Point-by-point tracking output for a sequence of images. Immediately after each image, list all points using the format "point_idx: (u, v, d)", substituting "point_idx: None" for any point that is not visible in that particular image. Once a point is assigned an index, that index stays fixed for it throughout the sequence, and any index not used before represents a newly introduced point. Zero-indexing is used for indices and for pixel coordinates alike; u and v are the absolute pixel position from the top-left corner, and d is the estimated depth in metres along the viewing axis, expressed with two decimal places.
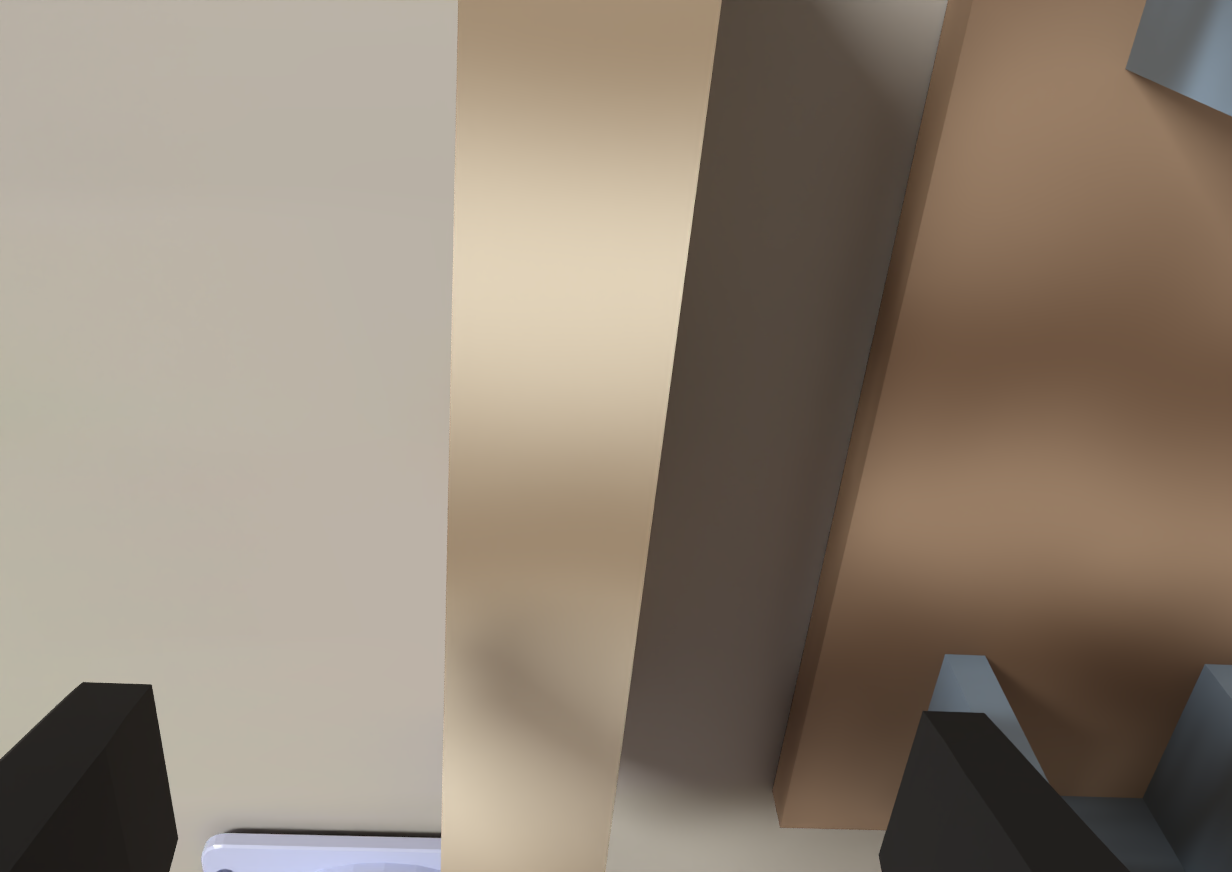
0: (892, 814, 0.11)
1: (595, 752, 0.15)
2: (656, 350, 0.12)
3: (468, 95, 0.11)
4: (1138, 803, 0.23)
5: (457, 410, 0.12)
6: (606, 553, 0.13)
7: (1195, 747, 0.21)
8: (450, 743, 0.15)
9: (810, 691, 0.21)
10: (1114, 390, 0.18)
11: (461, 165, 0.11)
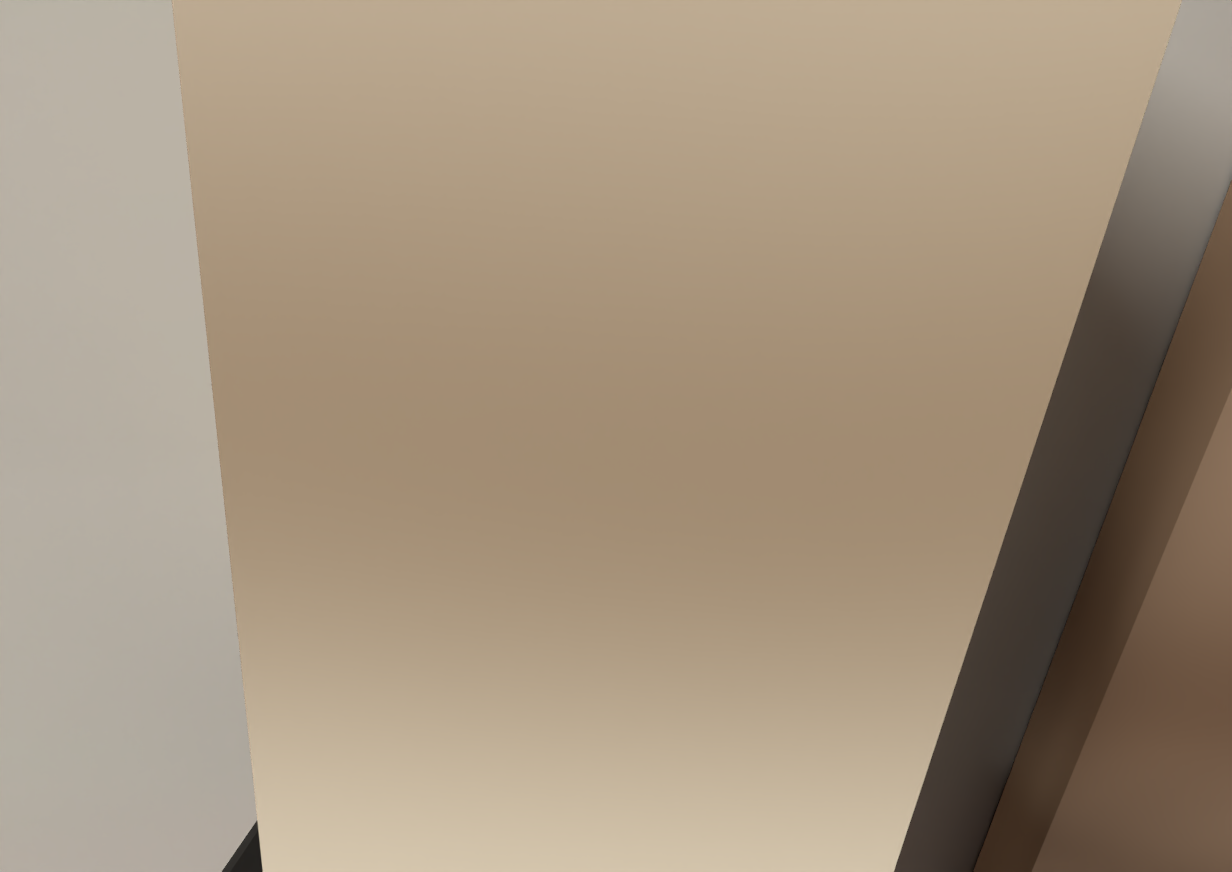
0: None
1: None
2: None
3: (274, 636, 0.04)
4: None
5: None
6: None
7: None
8: None
9: None
10: None
11: (273, 780, 0.04)
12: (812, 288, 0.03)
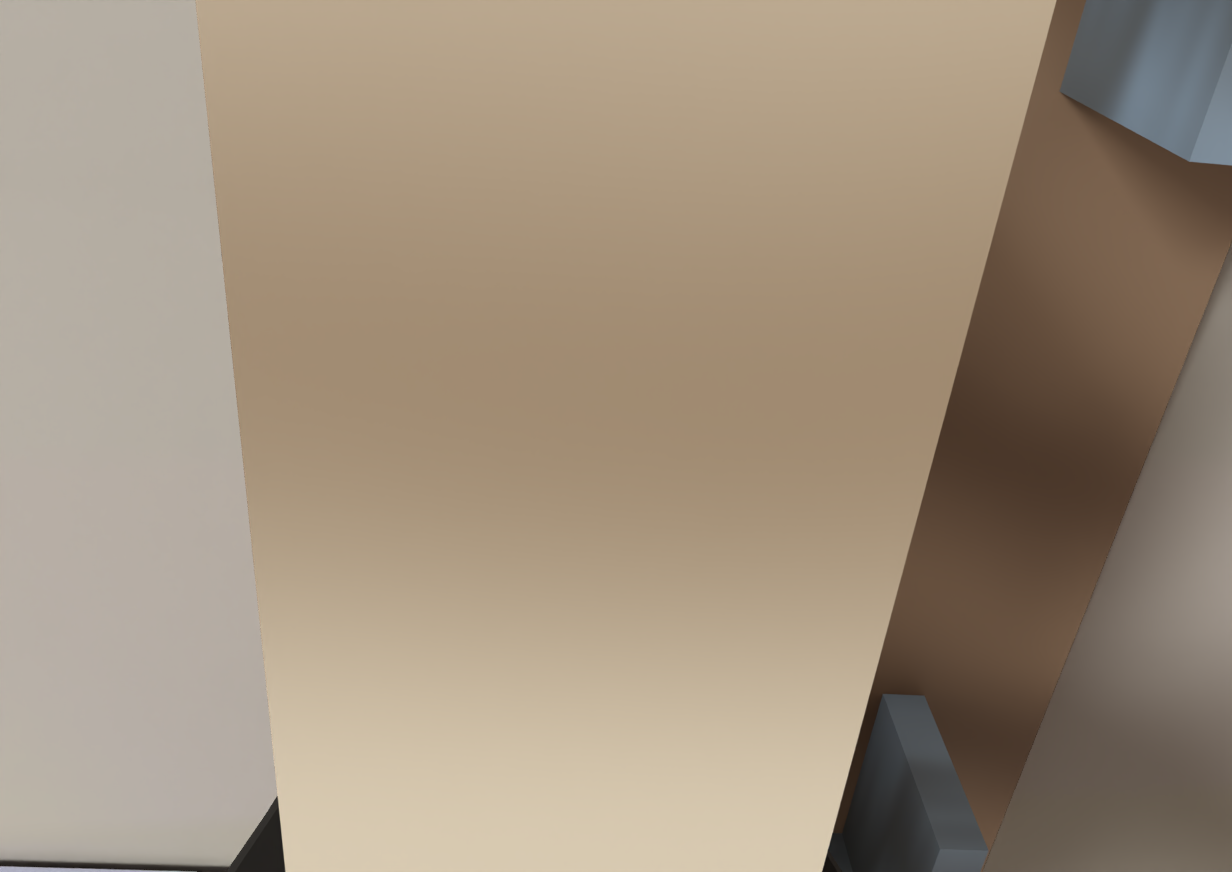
0: None
1: None
2: None
3: (285, 553, 0.04)
4: (834, 839, 0.22)
5: None
6: None
7: (874, 782, 0.20)
8: None
9: None
10: None
11: (285, 689, 0.04)
12: (751, 232, 0.03)
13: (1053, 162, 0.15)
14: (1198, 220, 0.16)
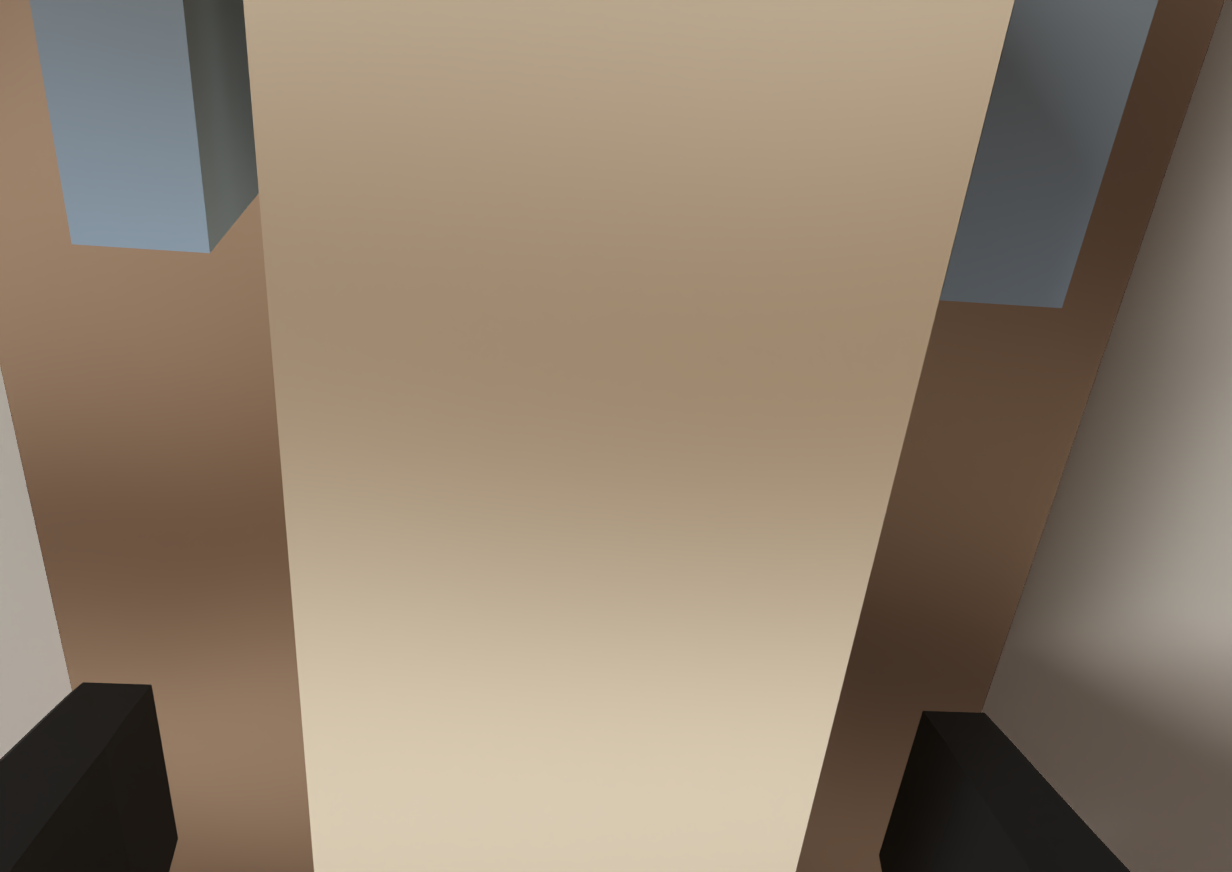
0: (892, 814, 0.11)
1: None
2: None
3: (314, 503, 0.04)
4: None
5: None
6: None
7: None
8: None
9: None
10: None
11: (311, 633, 0.05)
12: (741, 204, 0.04)
13: None
14: (1050, 329, 0.11)
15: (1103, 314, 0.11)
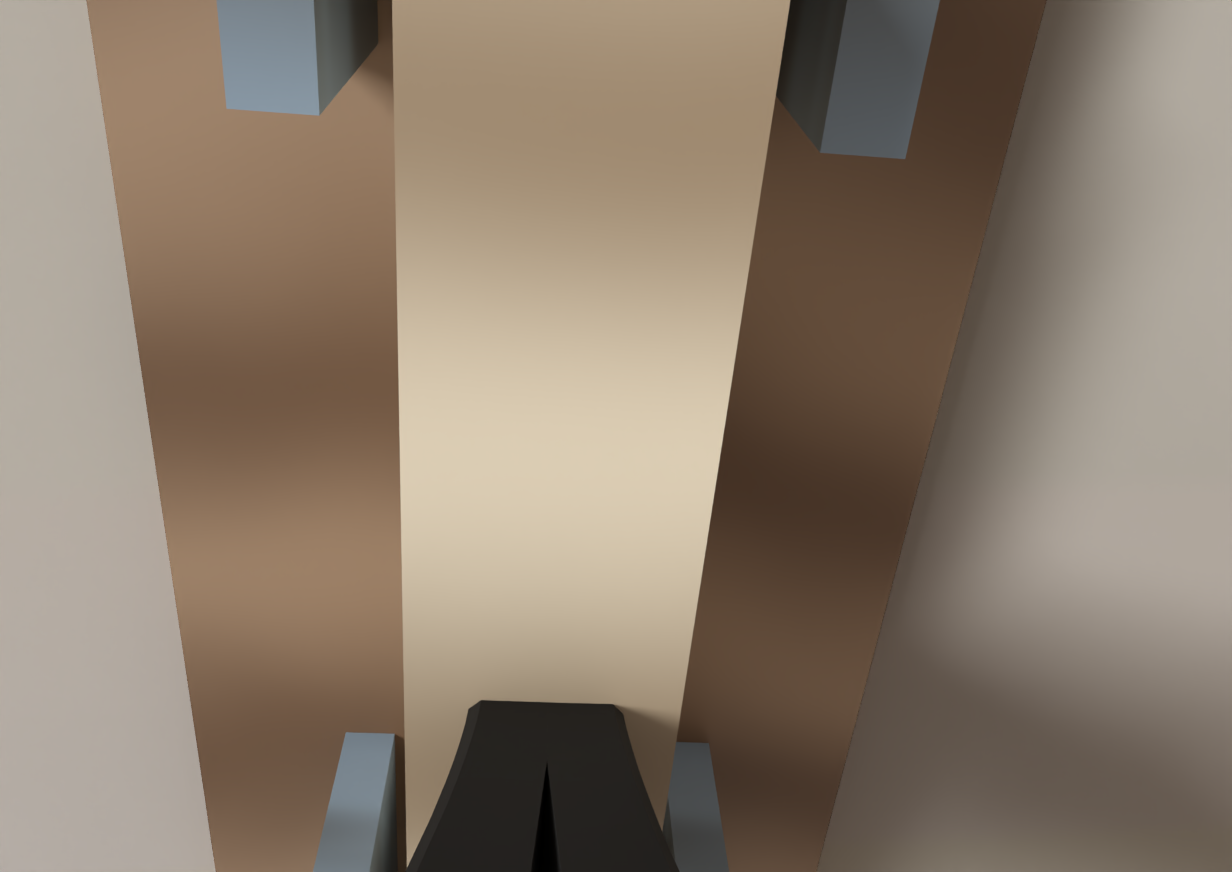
0: None
1: None
2: (681, 548, 0.09)
3: (413, 225, 0.07)
4: None
5: (413, 625, 0.09)
6: None
7: None
8: None
9: (202, 774, 0.18)
10: None
11: (406, 318, 0.08)
12: (659, 35, 0.07)
13: None
14: (940, 219, 0.14)
15: (981, 206, 0.14)
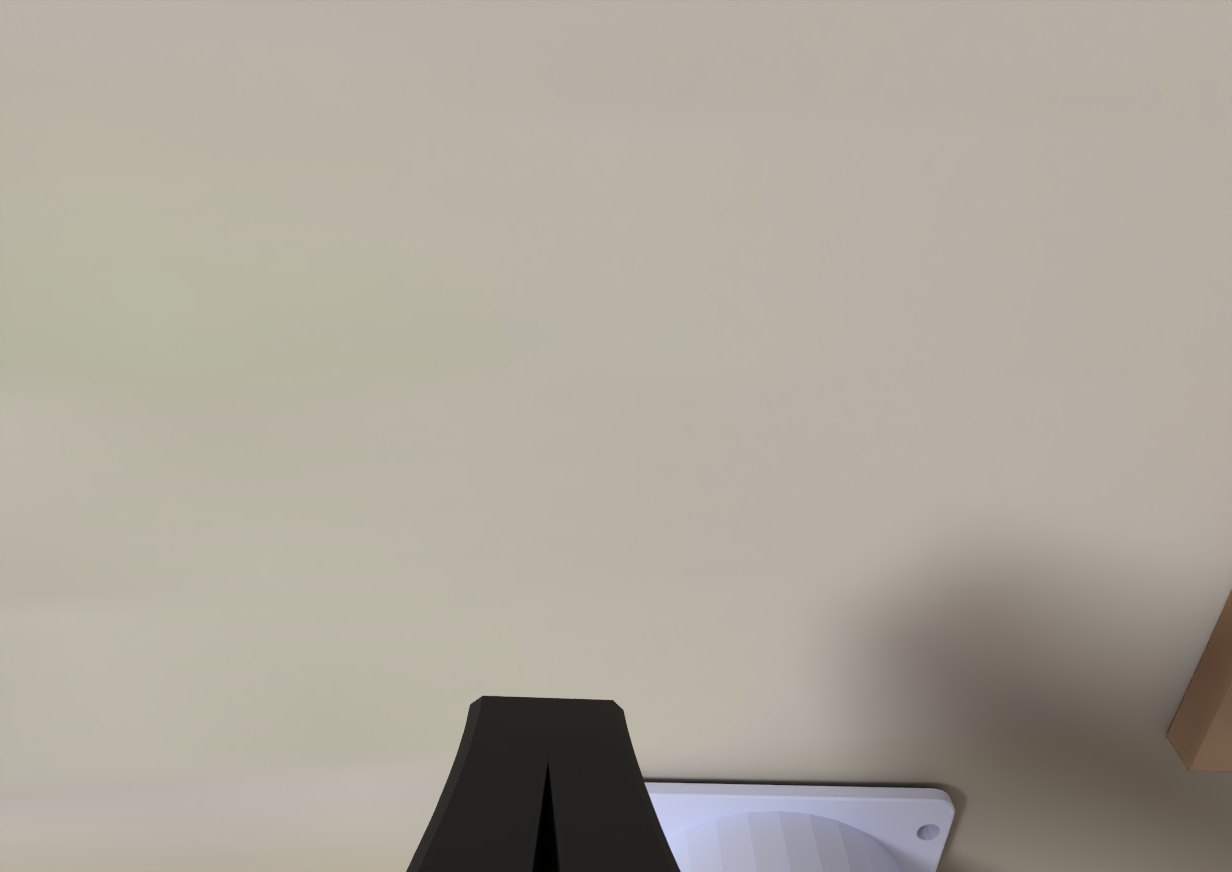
0: None
1: None
2: None
3: None
4: None
5: None
6: None
7: None
8: None
9: None
10: None
11: None
12: None
13: None
14: None
15: None
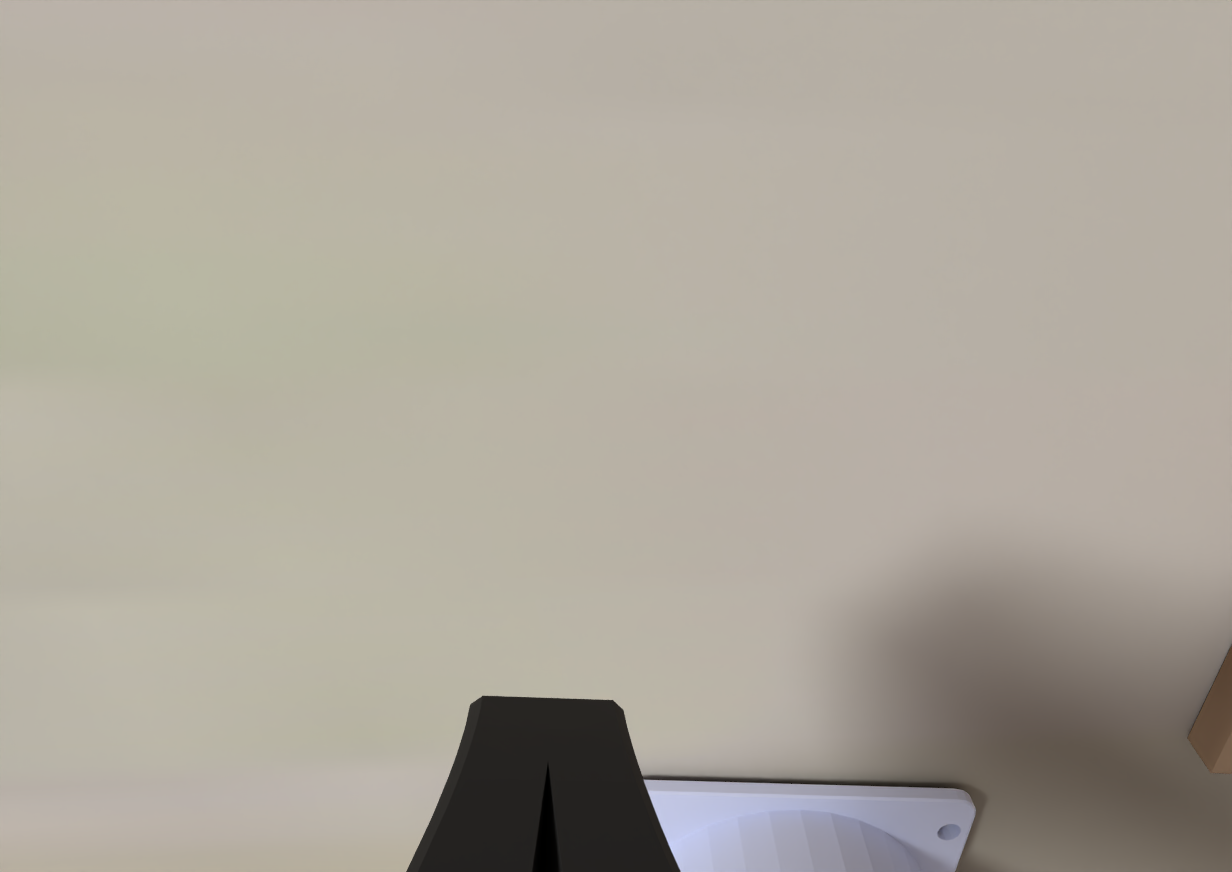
0: None
1: None
2: None
3: None
4: None
5: None
6: None
7: None
8: None
9: None
10: None
11: None
12: None
13: None
14: None
15: None
